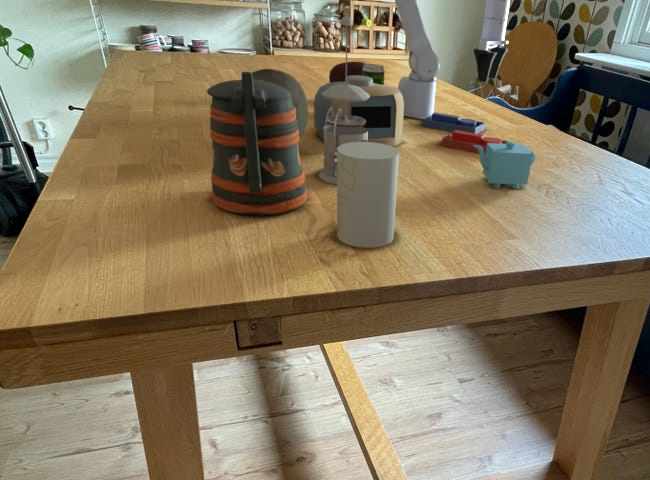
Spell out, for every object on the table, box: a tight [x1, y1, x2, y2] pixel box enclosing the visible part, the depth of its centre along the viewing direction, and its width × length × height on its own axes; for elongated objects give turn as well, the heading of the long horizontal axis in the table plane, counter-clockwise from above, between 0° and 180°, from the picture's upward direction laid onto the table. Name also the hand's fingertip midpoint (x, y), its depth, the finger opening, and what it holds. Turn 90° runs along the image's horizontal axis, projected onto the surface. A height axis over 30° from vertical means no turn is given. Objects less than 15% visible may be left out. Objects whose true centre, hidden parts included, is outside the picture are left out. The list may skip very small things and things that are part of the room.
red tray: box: [441, 132, 508, 155], centre depth 124 cm, size 14×8×2 cm, turn 64°
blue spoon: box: [432, 111, 478, 128], centre depth 137 cm, size 11×4×2 cm, turn 64°
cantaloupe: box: [251, 68, 309, 141], centre depth 105 cm, size 14×14×15 cm
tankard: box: [206, 71, 308, 217], centre depth 80 cm, size 19×15×20 cm
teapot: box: [473, 140, 536, 189], centre depth 101 cm, size 12×6×8 cm, turn 94°
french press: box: [318, 15, 370, 185], centre depth 93 cm, size 10×12×25 cm
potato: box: [328, 61, 366, 83], centre depth 151 cm, size 11×13×10 cm
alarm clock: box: [313, 76, 404, 148], centre depth 121 cm, size 19×20×12 cm
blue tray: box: [421, 115, 487, 134], centre depth 137 cm, size 14×8×2 cm, turn 64°
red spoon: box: [451, 130, 503, 146], centre depth 123 cm, size 11×4×2 cm, turn 64°
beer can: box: [362, 63, 385, 85], centre depth 136 cm, size 5×5×12 cm
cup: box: [336, 142, 400, 249], centre depth 76 cm, size 8×8×12 cm
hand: (486, 79), depth 144 cm, fingers open, 7 cm apart
